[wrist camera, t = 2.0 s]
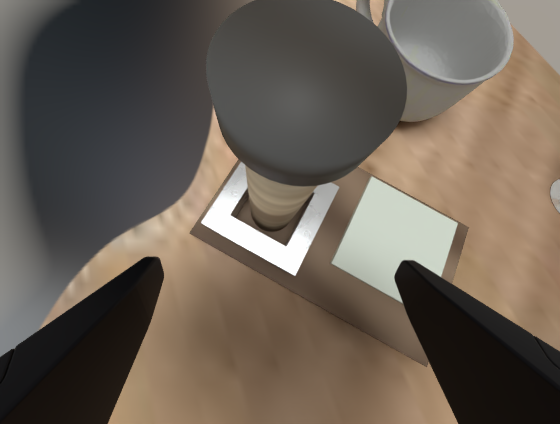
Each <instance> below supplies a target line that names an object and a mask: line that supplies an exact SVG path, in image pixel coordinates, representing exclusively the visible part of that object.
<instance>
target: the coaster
mask: <svg viewBox="0 0 560 424" xmlns="http://www.w3.org/2000/svg"><path fill="white" fill-rule="evenodd" d="M457 225H458V223H457V222H455V221H453V220H451V219H449V218H448V217H446V216H444V215H442V214H440V213H438V212H436V211H435V210H433V209H431V208H429V207H427V206H425V205H424V204H422V203H420V202H418V201H416V200H414V199H413V198H411V197H409V196H407V195H405V194H403V193H402V192H400V191H398V190H396V189H394V188H392V187H391V186H389V185H387V184H385V183H383V182H381V181H380V180H378V179H376V178H374V177H370V178H369V180H368V182H367V184H366V186H365V188H364V191H363V193H362V195H361V197H360V199H359V201H358V203H357V206H356V208H355V210H354V212H353V214H352V216H351V219H350V221H349V223H348V225H347V227H346V229H345V232H344V234H343V236H342V238H341V240H340V242H339V244H338V247H337V249H336V251H335V253H334V255H333V257H332V260H331V262H330V264H332V265H334V266H335V267H337V268H339V269H341V270H343V271H344V272H346V273H348V274H350V275H352V276H353V277H355V278H357V279H359V280H360V281H362V282H364V283H366V284H368V285H369V286H371V287H373V288H375V289H377V290H378V291H380V292H382V293H384V294H386V295H387V296H389V297H391V298H393V299H394V300H396V301H398V302H400V303H402V304H403V302H402V299H401V297H400V294H399V291H398V288H397V285H396V283H395V279H394V275H395V273H396V271H397V269H398V267H399V265H400V263H401V261H403V260H414V261H416V262H418V263H419V264H421V265H423V266H424V267H426V268H427V269H429V270H431V271H432V272H434V273H435V274H437V275H438V276H440V277H441V275H442V272H443V269H444V266H445V263H446V260H447V256H448V253H449V250H450V247H451V244H452V241H453V237H454V234H455V231H456V228H457Z"/></svg>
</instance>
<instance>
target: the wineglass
mask: <svg viewBox="0 0 560 424" xmlns="http://www.w3.org/2000/svg"><path fill="white" fill-rule="evenodd" d="M550 195H551V200H552V202H553V204H554V206H555V208H556V209H557V210H558V211H559V213H560V179H558V180H556V181H555V182H554V183H553V184H552V186H551V191H550Z"/></svg>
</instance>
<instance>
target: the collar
mask: <svg viewBox="0 0 560 424" xmlns="http://www.w3.org/2000/svg"><path fill="white" fill-rule="evenodd" d="M338 189H339V186H337V185H335V184H333V183H331V182H330V183H327V184H323V185H318V186H317V187H316V189H315V190H314V191H313V192H312V194H311V195H310V196H309V198H308V199H307V200H306V201H307V202H308V203H307V204H306V206H305V208H304V210H303V212H302V214H301V216H300V218H299V219H298V221H297V223H296V225H295V227H294V229H293V231H292V233H291V234H290V236H289V238H288V240H287V242H286V244H285V246H284V245H282V244H280V243H279V242H277V241H275V240H273V239H271V238H270V237H268V236H266V235H264V234H262V233H261V232H259V231H257V230H255V229H253V228H252V227H250V226H248V225H246V224H245V223H243V222H241V221H239V220H237V219H236V217H237V215H238V213H239V212H240V210H241V208H242V207H243V205H244V204H245V202H246V200H247V199H248V197H249V193H248V185H247V177H246V169H245V164H243V163H242V162H241V163H240V164H239V166H238V167H237V169H236V170H235V172H234V173H233V175H232V176H231V178H230V179H229V181H228V182H227V184H226V185H225V187H224V188H223V190H222V191H221V193H220V194H219V196H218V197H217V199H216V201H215V202H214V204H213V205H212V207H211V208H210V210H209V211H208V213H207V214H206V216H205V217H204V219H203V220H202V222H201V223H202V224H203V225H205V226H206V227H207V228H209V229H211V230H212V231H214V232H216V233H218V234H220V235H221V236H223V237H225V238H227V239H228V240H230V241H232V242H234V243H236V244H237V245H239V246H241V247H243V248H244V249H246V250H248V251H250V252H252V253H253V254H255V255H257V256H259V257H260V258H262V259H264V260H266V261H268V262H269V263H271V264H273V265H275V266H276V267H278V268H280V269H282V270H284V271H285V272H287V273H289V274H291V275H294V276H295V275H296V273H297V271H298V269H299V267H300V265H301V263H302V261H303V259H304V257H305V255H306V253H307V251H308V249H309V247H310V245H311V243H312V241H313V239H314V237H315V235H316V233H317V231H318V229H319V227H320V225H321V223H322V221H323V219H324V217H325V215H326V213H327V211H328V209H329V207H330V205H331V203H332V201H333V199H334V197H335V195H336V193H337V191H338Z"/></svg>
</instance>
